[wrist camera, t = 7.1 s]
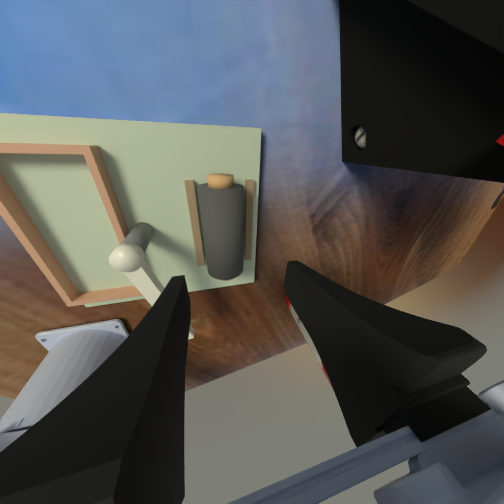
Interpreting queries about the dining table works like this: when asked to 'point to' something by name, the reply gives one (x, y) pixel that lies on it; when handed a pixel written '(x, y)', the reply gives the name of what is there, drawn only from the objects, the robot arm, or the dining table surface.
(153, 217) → the board
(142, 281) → the lever handle
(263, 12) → the dining table surface
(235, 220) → the grey cylinder
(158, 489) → the robot arm
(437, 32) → the electrical component
